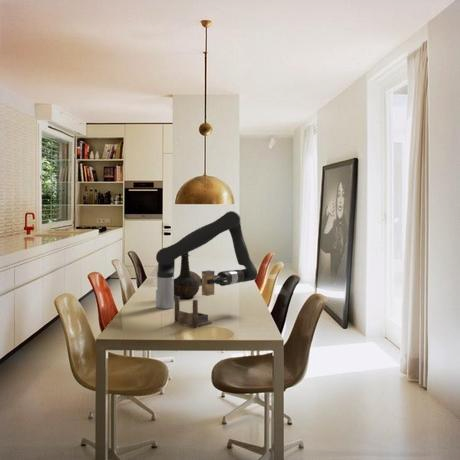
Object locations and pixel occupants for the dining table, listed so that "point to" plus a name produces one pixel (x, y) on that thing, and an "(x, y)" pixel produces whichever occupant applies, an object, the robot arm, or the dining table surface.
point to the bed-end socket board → (190, 316)
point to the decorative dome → (196, 277)
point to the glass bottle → (185, 280)
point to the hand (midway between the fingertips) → (204, 281)
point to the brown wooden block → (206, 288)
